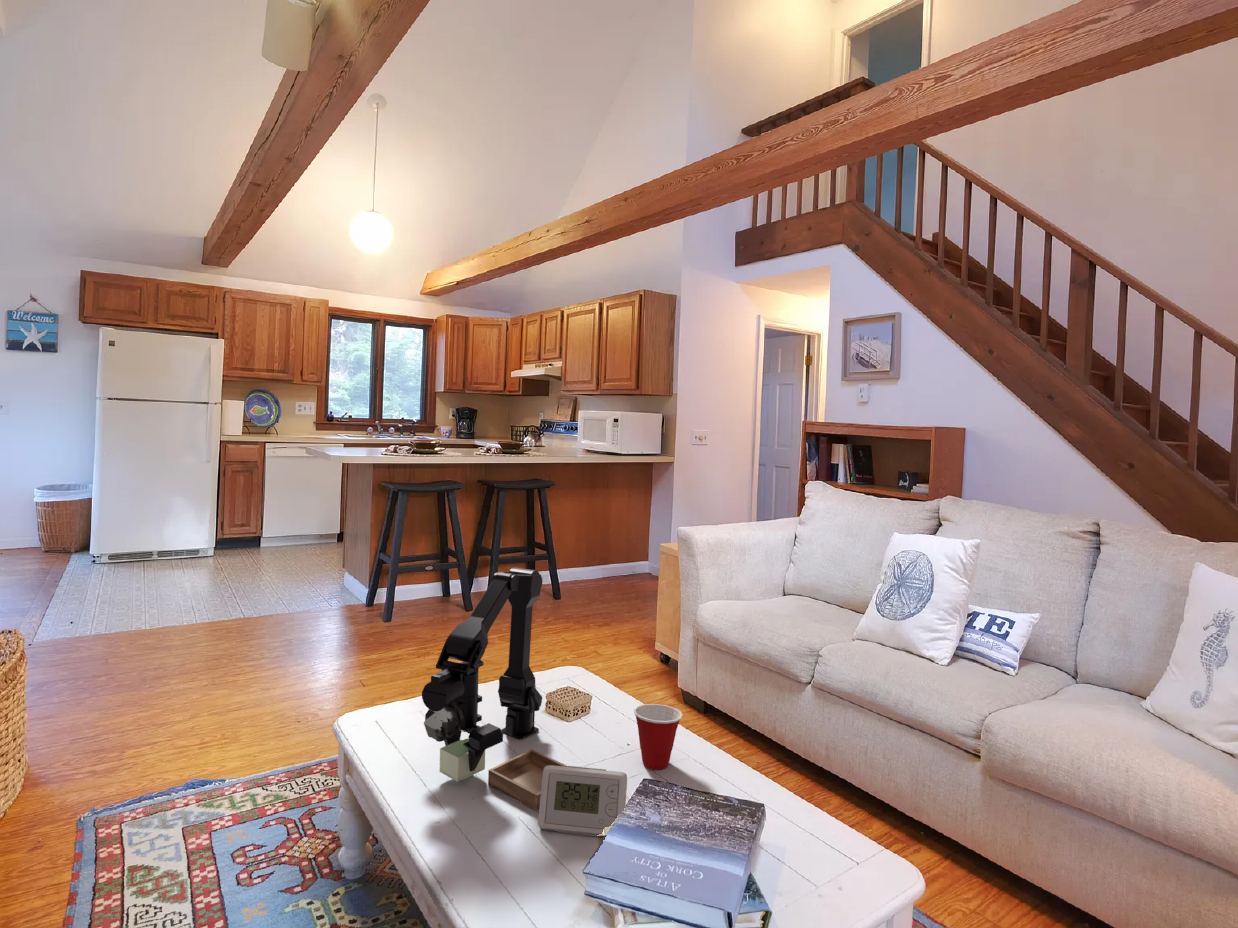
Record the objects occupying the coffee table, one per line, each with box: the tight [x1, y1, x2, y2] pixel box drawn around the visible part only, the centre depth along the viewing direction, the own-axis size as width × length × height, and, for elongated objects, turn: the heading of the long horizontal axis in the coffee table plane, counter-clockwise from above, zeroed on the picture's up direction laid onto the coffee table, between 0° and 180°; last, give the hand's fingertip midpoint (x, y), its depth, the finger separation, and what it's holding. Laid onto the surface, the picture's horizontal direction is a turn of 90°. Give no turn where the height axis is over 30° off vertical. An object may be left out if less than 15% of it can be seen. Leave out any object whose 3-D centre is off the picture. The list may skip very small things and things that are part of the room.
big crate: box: [487, 749, 567, 812], centre depth 143 cm, size 12×14×3 cm
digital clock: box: [537, 765, 628, 837], centre depth 130 cm, size 16×9×11 cm, turn 72°
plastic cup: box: [633, 703, 684, 771], centre depth 155 cm, size 11×11×12 cm
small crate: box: [439, 736, 486, 783], centre depth 145 cm, size 7×6×5 cm
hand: (462, 765), depth 145 cm, fingers closed on small crate, 6 cm apart
